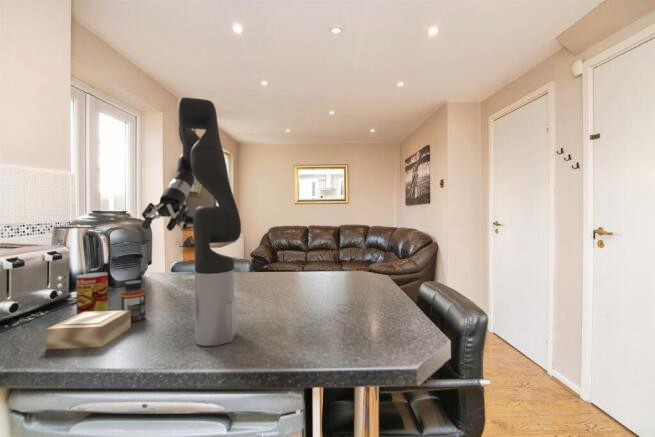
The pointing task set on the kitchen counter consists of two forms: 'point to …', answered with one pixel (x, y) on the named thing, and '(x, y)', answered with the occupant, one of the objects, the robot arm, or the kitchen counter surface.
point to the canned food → (92, 292)
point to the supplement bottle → (134, 300)
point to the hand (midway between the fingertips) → (156, 228)
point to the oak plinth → (88, 329)
